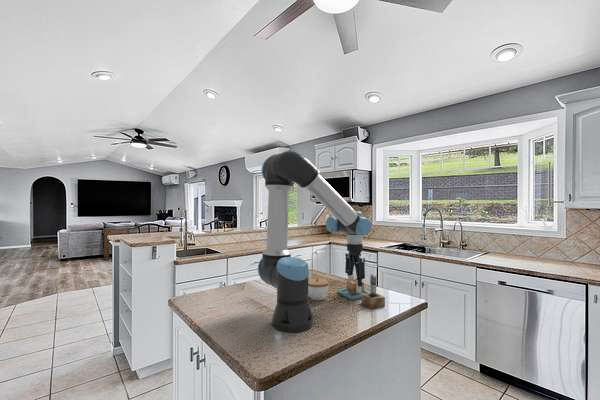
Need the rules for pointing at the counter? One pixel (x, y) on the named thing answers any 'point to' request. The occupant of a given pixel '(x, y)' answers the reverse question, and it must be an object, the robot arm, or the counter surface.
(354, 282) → the block
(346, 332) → the counter surface
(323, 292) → the lidded jar
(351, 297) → the tray
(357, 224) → the robot arm
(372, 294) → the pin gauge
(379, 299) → the block
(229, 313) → the counter surface
